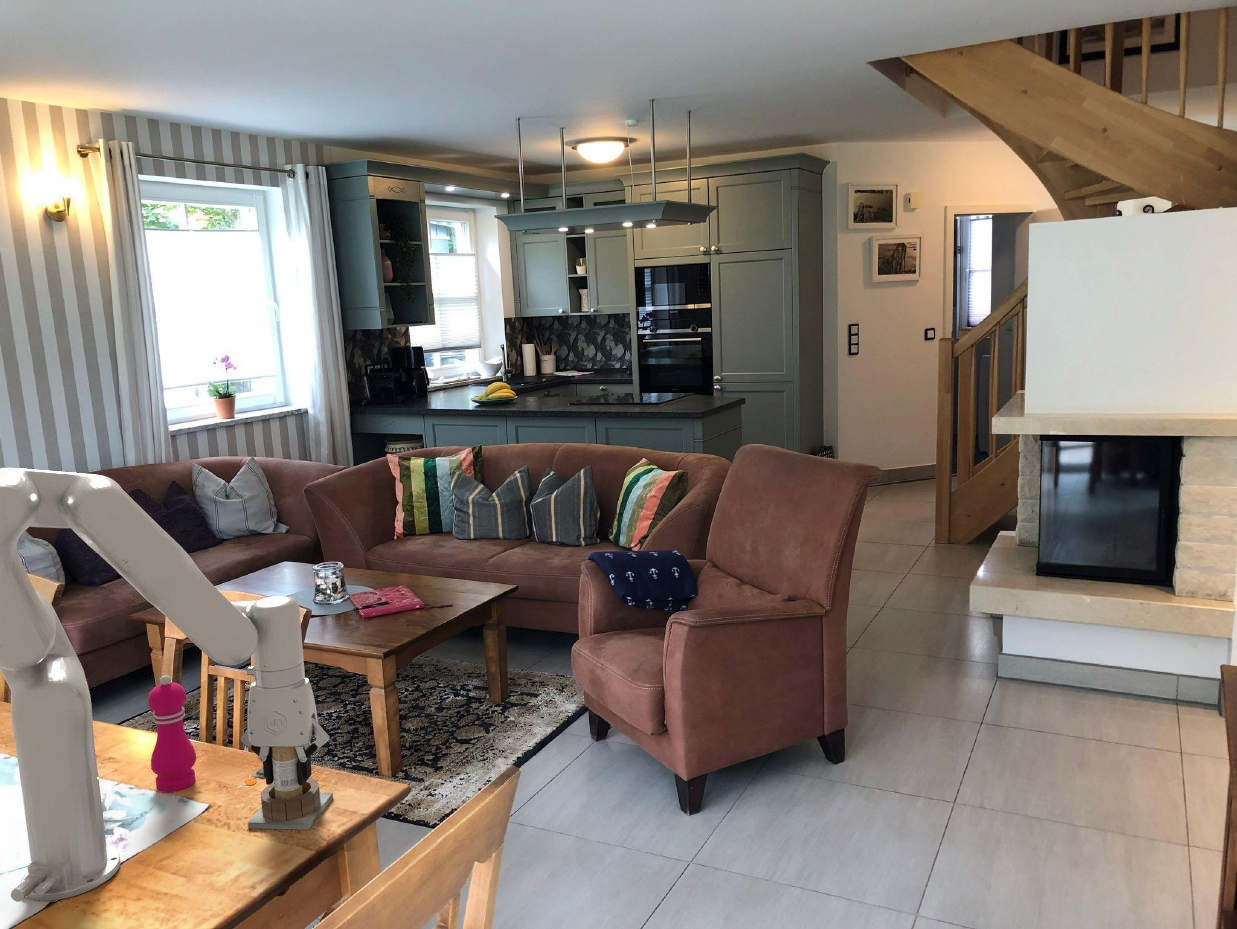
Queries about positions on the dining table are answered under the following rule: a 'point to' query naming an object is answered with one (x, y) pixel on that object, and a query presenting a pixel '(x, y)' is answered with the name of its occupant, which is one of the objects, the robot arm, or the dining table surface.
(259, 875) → the dining table surface
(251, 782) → the key chain
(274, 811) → the collar
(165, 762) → the pepper mill
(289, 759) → the sprinkles bottle
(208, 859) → the dining table surface
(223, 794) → the dining table surface
